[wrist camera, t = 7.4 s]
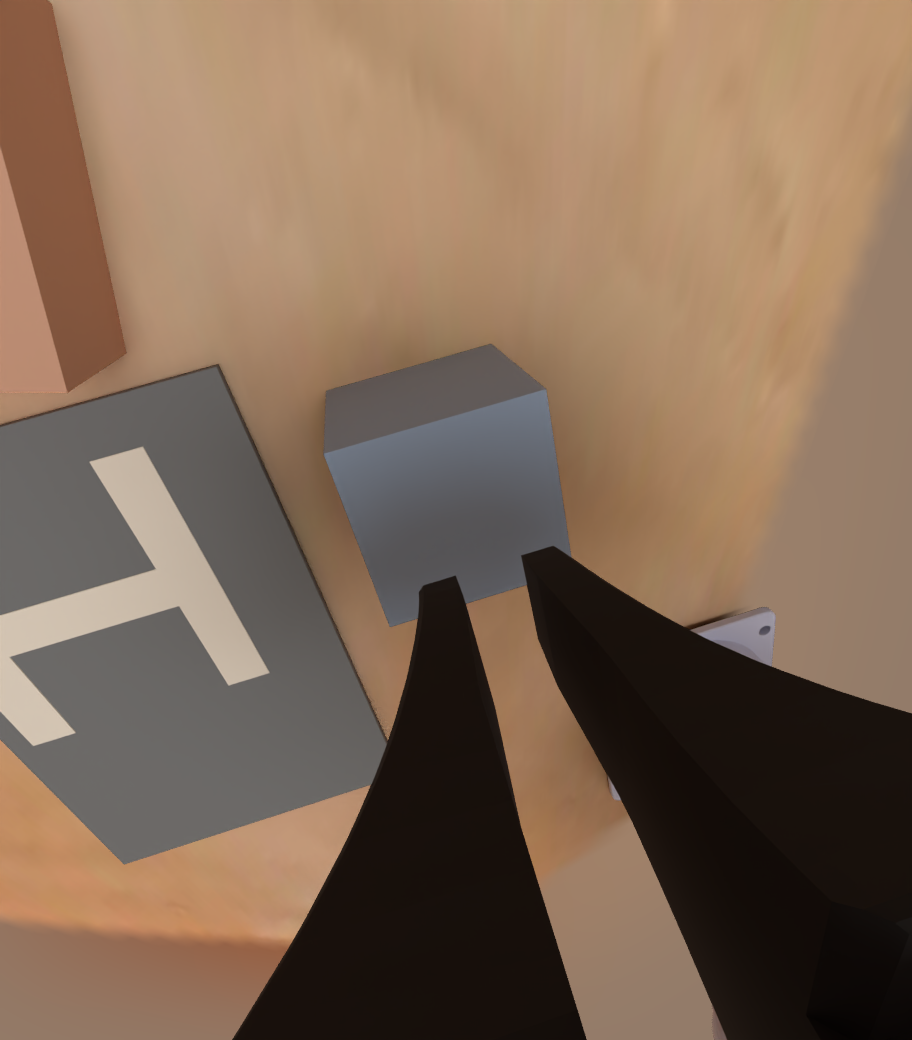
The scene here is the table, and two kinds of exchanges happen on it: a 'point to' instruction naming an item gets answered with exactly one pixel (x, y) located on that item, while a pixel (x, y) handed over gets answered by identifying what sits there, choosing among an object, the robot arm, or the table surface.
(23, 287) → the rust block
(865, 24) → the table surface
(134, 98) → the table surface
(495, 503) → the blue cube
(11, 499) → the letter mat
